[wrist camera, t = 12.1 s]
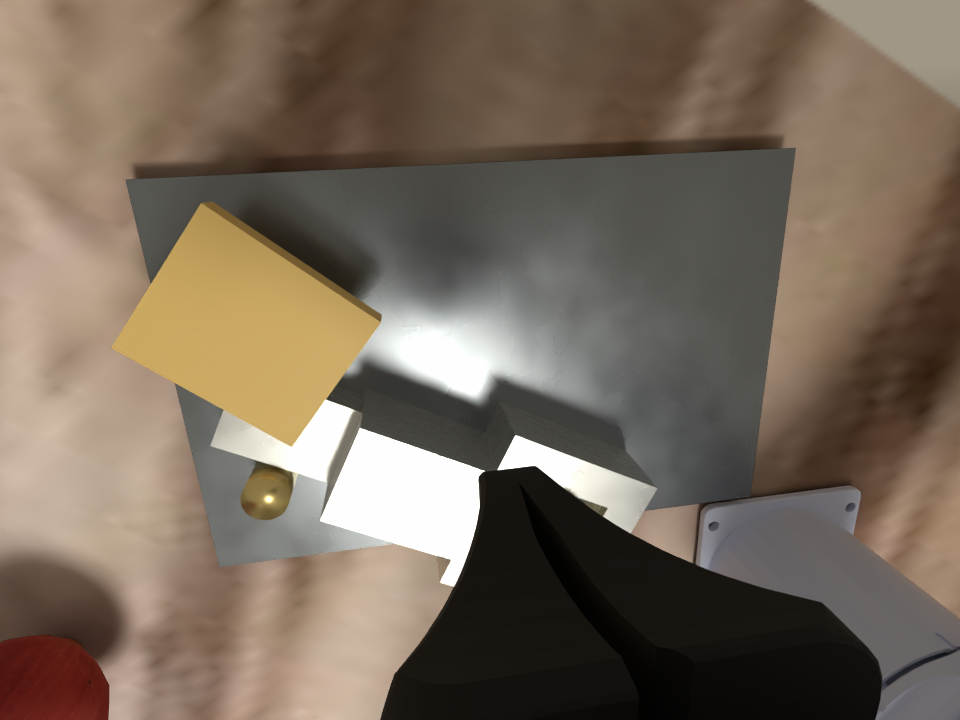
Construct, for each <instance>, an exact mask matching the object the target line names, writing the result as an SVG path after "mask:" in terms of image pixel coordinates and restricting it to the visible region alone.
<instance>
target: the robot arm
mask: <svg viewBox="0 0 960 720" xmlns="http://www.w3.org/2000/svg"><path fill="white" fill-rule="evenodd" d="M478 488H479V506H480V507H479V512H478V518H477V524H476V528H475V531H474V535H473V538H472V542H471V545H470V549H469V552H468V555H467V557H466V560H465V563H464V565H463V568H462V570H461V573H460V575H459V577H458V579H457V582H456V584H455V586H454V588H453V590H452V592H451V594H450V596H449V598H448V600H447V601H446V603H445V605H444V607H443V609H442V610H441V612H440V613H439V615H438V617H437V618H436V620H435V621H434V623H433V624H432V626H431V627H430V629H429V630H428V632H427V634H426V635H425V637H424V638H423V639H422V641H421V642H420V644H419V645H418V646H417V647H416V649H415V650H414V651H413V652H412V654H411V655H410V656H409V657H408V658H407V660H406V661H405V662H404V663H403V665H402V666H401V667H400V668H399V670H398V671H397V672H396V673H395V674H394V677H393V680H392V683H391V686H390V689H389V692H388V696H387V699H386V702H385V705H384V709H383V712H382V716H381V719H380V720H960V619H959V618H958V617H957V616H956V615H954V614H953V613H952V612H950V611H949V610H948V609H947V608H945V607H944V606H943V605H941V604H940V603H939V602H938V601H936V600H935V599H934V598H933V597H931V596H930V595H929V594H927V593H926V592H925V591H924V590H922V589H921V588H920V587H918V586H917V585H916V584H915V583H913V582H912V581H911V580H909V579H908V578H907V577H906V576H904V575H903V574H902V573H901V572H899V571H898V570H897V569H895V568H894V567H893V566H892V565H890V564H889V563H888V562H886V561H885V560H884V559H883V558H881V557H880V556H879V555H877V554H876V553H875V552H874V551H872V550H871V549H870V548H869V547H867V546H866V545H865V544H863V543H862V542H861V541H860V540H858V539H857V538H856V537H854V536H853V533H854V528H855V523H856V518H857V513H858V508H859V504H860V499H861V493H860V491H859V490H858V489H856V488H855V487H853V486H849V485H848V486H840V487H833V488H825V489H818V490H810V491H803V492H795V493H788V494H780V495H773V496H765V497H757V498H750V499H742V500H735V501H727V502H720V503H712V504H709V505H707V506H705V507H704V508H703V510H702V511H701V515H700V526H699V536H698V546H697V556H696V565H695V564H693V563H691V562H688V561H686V560H683V559H681V558H679V557H676V556H674V555H672V554H670V553H667V552H665V551H663V550H661V549H659V548H657V547H655V546H653V545H651V544H649V543H647V542H645V541H644V540H642V539H640V538H638V537H636V536H634V535H632V534H631V533H629V532H627V531H625V530H624V529H622V528H620V527H619V526H617V525H616V524H614V523H612V522H611V521H609V520H608V519H606V518H605V517H603V516H601V515H600V514H598V513H597V512H596V511H594V510H593V509H591V508H590V507H588V506H587V505H586V504H584V503H583V502H581V501H580V500H579V499H577V498H576V497H575V496H573V495H572V494H571V493H569V492H568V491H567V490H566V489H564V488H563V487H562V486H561V485H559V484H558V483H557V482H555V481H554V480H553V479H552V478H551V477H549V476H548V475H547V474H546V473H544V472H543V471H542V470H541V469H539V468H538V467H537V466H527V467H518V468H510V469H501V470H493V471H485V472H482V473H481V474H480V475H479V476H478ZM712 522H714V523H713V524H712V525H710V526H709V524H710V523H712Z"/></svg>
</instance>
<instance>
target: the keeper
mask: <svg viewBox="0 0 960 720" xmlns="http://www.w3.org/2000/svg"><path fill="white" fill-rule="evenodd" d="M381 318H382V315H381V314H380V313H378V312H377V311H375V310H374V309H372V308H371V307H369V306H368V305H366V304H365V303H363V302H362V301H360V300H359V299H357V298H356V297H354V296H353V295H351V294H350V293H348V292H347V291H345V290H344V289H342V288H341V287H340V286H338V285H337V284H335V283H334V282H332V281H331V280H329V279H328V278H326V277H325V276H323V275H322V274H320V273H319V272H317V271H316V270H314V269H313V268H311V267H310V266H308V265H307V264H305V263H304V262H302V261H301V260H299V259H298V258H296V257H295V256H293V255H292V254H290V253H289V252H287V251H286V250H284V249H283V248H281V247H280V246H278V245H277V244H275V243H274V242H272V241H271V240H269V239H268V238H266V237H265V236H263V235H262V234H260V233H259V232H257V231H256V230H254V229H253V228H251V227H250V226H248V225H247V224H245V223H244V222H242V221H241V220H239V219H238V218H236V217H235V216H233V215H232V214H230V213H229V212H227V211H226V210H224V209H223V208H221V207H220V206H218V205H217V204H215V203H214V202H206V203H201V204H200V206H199V207H198V209H197V211H196V212H195V214H194V215H193V217H192V219H191V220H190V222H189V223H188V225H187V227H186V228H185V230H184V232H183V233H182V235H181V236H180V238H179V240H178V241H177V243H176V244H175V246H174V248H173V249H172V251H171V253H170V254H169V256H168V257H167V259H166V261H165V262H164V264H163V265H162V267H161V269H160V270H159V272H158V274H157V275H156V277H155V278H154V280H153V282H152V283H151V285H150V286H149V288H148V290H147V291H146V293H145V295H144V296H143V298H142V299H141V301H140V303H139V304H138V306H137V307H136V309H135V311H134V312H133V314H132V316H131V317H130V319H129V320H128V322H127V324H126V325H125V327H124V328H123V330H122V332H121V333H120V335H119V337H118V338H117V340H116V341H115V343H114V345H113V346H112V349H114V350H116V351H117V352H119V353H121V354H123V355H125V356H126V357H128V358H130V359H132V360H134V361H136V362H137V363H139V364H141V365H143V366H145V367H146V368H148V369H150V370H152V371H154V372H156V373H157V374H159V375H161V376H163V377H165V378H167V379H168V380H170V381H172V382H174V383H176V384H177V385H179V386H181V387H183V388H185V389H187V390H188V391H190V392H192V393H194V394H196V395H197V396H199V397H201V398H203V399H205V400H207V401H208V402H210V403H212V404H214V405H216V406H218V407H219V408H221V409H223V410H225V411H227V412H228V413H230V414H232V415H234V416H236V417H238V418H239V419H241V420H243V421H245V422H247V423H249V424H250V425H252V426H254V427H256V428H258V429H259V430H261V431H263V432H265V433H267V434H269V435H270V436H272V437H274V438H276V439H278V440H279V441H281V442H283V443H285V444H287V445H289V446H290V447H292V446H293V445H294V443H295V442H296V441H297V439H298V438H299V436H300V435H301V434H302V432H303V431H304V429H305V428H306V427H307V425H308V424H309V423H310V421H311V420H312V418H313V417H314V416H315V414H316V413H317V411H318V410H319V409H320V407H321V406H322V404H323V403H324V402H325V400H326V399H327V397H328V396H329V395H330V393H331V392H332V390H333V389H334V388H335V386H336V385H337V383H338V382H339V381H340V379H341V378H342V376H343V375H344V374H345V372H346V371H347V369H348V368H349V367H350V365H351V364H352V363H353V361H354V360H355V358H356V357H357V356H358V354H359V353H360V351H361V350H362V349H363V347H364V346H365V344H366V343H367V342H368V340H369V339H370V337H371V336H372V335H373V333H374V332H375V330H376V329H377V328H378V326H379V325H380V323H381Z"/></svg>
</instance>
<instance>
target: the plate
mask: <svg viewBox="0 0 960 720" xmlns="http://www.w3.org/2000/svg"><path fill="white" fill-rule="evenodd" d="M795 150H796V148H785V149H763V150H742V151H721V152H700V153H678V154H657V155H636V156H615V157H594V158H572V159H551V160H530V161H509V162H487V163H466V164H445V165H424V166H403V167H381V168H360V169H339V170H318V171H296V172H275V173H254V174H233V175H212V176H190V177H169V178H148V179H127V180H126V184H127V188H128V192H129V196H130V201H131V205H132V209H133V213H134V217H135V221H136V225H137V229H138V233H139V237H140V242H141V246H142V250H143V254H144V258H145V262H146V266H147V270H148V274H149V279H150V283H152V282H153V280H154V278H155V277H156V275H157V274H158V272H159V270H160V269H161V267H162V265H163V264H164V262H165V261H166V259H167V257H168V256H169V254H170V253H171V251H172V249H173V248H174V246H175V244H176V243H177V241H178V240H179V238H180V236H181V235H182V233H183V232H184V230H185V228H186V227H187V225H188V223H189V222H190V220H191V219H192V217H193V215H194V214H195V212H196V211H197V209H198V207H199V206H200V204H201V203H206V202H214V203H215V204H217V205H218V206H220V207H221V208H223V209H224V210H226V211H227V212H229V213H230V214H232V215H233V216H235V217H236V218H238V219H239V220H241V221H242V222H244V223H245V224H247V225H248V226H250V227H251V228H253V229H254V230H256V231H257V232H259V233H260V234H262V235H263V236H265V237H266V238H268V239H269V240H271V241H272V242H274V243H275V244H277V245H278V246H280V247H281V248H283V249H284V250H286V251H287V252H289V253H290V254H292V255H293V256H295V257H296V258H298V259H299V260H301V261H302V262H304V263H305V264H307V265H308V266H310V267H311V268H313V269H314V270H316V271H317V272H319V273H320V274H322V275H323V276H325V277H326V278H328V279H329V280H331V281H332V282H334V283H335V284H337V285H338V286H340V287H341V288H342V289H344V290H345V291H347V292H348V293H350V294H351V295H353V296H354V297H356V298H357V299H359V300H360V301H362V302H363V303H365V304H366V305H368V306H369V307H371V308H372V309H374V310H375V311H377V312H378V313H380V314H381V315H382V318H381V323H380V325H379V326H378V328H377V329H376V330H375V332H374V333H373V335H372V336H371V337H370V339H369V340H368V342H367V343H366V344H365V346H364V347H363V349H362V350H361V351H360V353H359V354H358V356H357V357H356V358H355V360H354V361H353V363H352V364H351V365H350V367H349V368H348V369H347V371H346V372H345V374H344V375H343V376H342V378H341V379H340V381H339V382H338V383H337V385H336V386H339V387H342V388H345V389H347V390H350V391H353V392H356V393H358V394H361V395H363V393H364V391H365V388H367V389H369V390H372V391H375V392H377V393H380V394H383V395H386V396H388V397H391V398H394V399H397V400H399V401H402V402H405V403H407V404H410V405H413V406H416V407H418V408H421V409H424V410H427V411H429V412H432V413H435V414H437V415H440V416H443V417H446V418H448V419H451V420H454V421H456V422H459V423H462V424H465V425H467V426H470V427H473V428H476V429H478V430H481V431H484V432H485V430H486V428H487V426H488V424H489V422H490V420H491V418H492V416H493V414H494V412H495V410H496V408H497V406H498V404H499V402H502V403H504V404H507V405H510V406H512V407H515V408H517V409H520V410H523V411H525V412H528V413H530V414H533V415H536V416H538V417H541V418H543V419H546V420H548V421H551V422H554V423H556V424H559V425H561V426H564V427H567V428H569V429H572V430H574V431H577V432H580V433H582V434H585V435H587V436H590V437H592V438H595V439H598V440H600V441H603V442H605V443H608V444H611V445H613V446H616V447H618V448H621V449H624V450H626V451H627V453H628V454H629V455H630V456H631V457H632V458H633V460H634V461H635V462H636V463H637V464H638V466H639V467H640V468H641V469H642V470H643V471H644V473H645V474H646V475H647V476H648V477H649V479H650V480H651V481H652V482H653V483H654V484H655V486H656V487H657V488H658V489H657V490H656V492H655V494H654V495H653V497H652V498H651V500H650V502H649V503H648V505H647V507H646V508H645V510H644V511H646V510H654V509H662V508H669V507H677V506H684V505H692V504H699V503H707V502H714V501H722V500H730V499H737V498H745V497H750V494H751V486H752V479H753V471H754V463H755V456H756V448H757V440H758V433H759V425H760V417H761V410H762V402H763V395H764V387H765V379H766V372H767V364H768V356H769V349H770V341H771V333H772V326H773V318H774V310H775V303H776V295H777V287H778V280H779V272H780V264H781V257H782V249H783V242H784V234H785V226H786V219H787V211H788V203H789V196H790V188H791V180H792V173H793V165H794V157H795ZM175 385H176V390H177V394H178V398H179V402H180V406H181V410H182V414H183V418H184V422H185V426H186V431H187V435H188V439H189V443H190V447H191V451H192V455H193V459H194V463H195V468H196V472H197V476H198V480H199V484H200V488H201V492H202V496H203V500H204V505H205V509H206V513H207V517H208V521H209V525H210V529H211V533H212V537H213V542H214V546H215V550H216V554H217V558H218V562H219V566H220V567H223V566H231V565H238V564H246V563H253V562H261V561H269V560H276V559H284V558H291V557H299V556H306V555H314V554H321V553H329V552H337V551H344V550H352V549H359V548H367V547H374V546H382V545H389V544H396V543H393V542H390V541H386V540H383V539H379V538H376V537H373V536H369V535H366V534H362V533H359V532H356V531H352V530H349V529H345V528H342V527H339V526H335V525H332V524H328V523H325V522H322V521H320V517H321V513H322V508H323V503H324V499H325V494H326V489H327V485H328V483H327V482H324V481H321V480H317V479H314V478H311V477H308V476H305V475H301V474H298V476H297V479H296V482H295V486H294V489H293V492H292V495H291V498H290V501H289V504H288V507H287V509H286V511H285V512H284V513H283V514H282V515H281V516H279V517H277V518H275V519H272V520H259V519H255V518H253V517H251V516H249V515H248V514H247V513H246V512H245V511H244V510H243V508H242V506H241V502H240V497H241V494H242V491H243V489H244V487H245V485H246V483H247V481H248V479H249V477H250V475H251V473H252V470H253V468H254V466H255V464H256V462H257V460H254V459H250V458H247V457H244V456H241V455H238V454H234V453H231V452H228V451H225V450H222V449H219V448H215V447H212V446H211V443H212V440H213V437H214V435H215V432H216V429H217V427H218V424H219V421H220V418H221V416H222V413H223V409H221V408H219V407H218V406H216V405H214V404H212V403H210V402H208V401H207V400H205V399H203V398H201V397H199V396H197V395H196V394H194V393H192V392H190V391H188V390H187V389H185V388H183V387H181V386H179V385H177V384H176V383H175Z"/></svg>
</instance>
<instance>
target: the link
mask: <svg viewBox="0 0 960 720" xmlns="http://www.w3.org/2000/svg"><path fill="white" fill-rule="evenodd" d="M211 446H212V447H215V448H219V449H222V450H225V451H228V452H231V453H234V454H238V455H241V456H244V457H247V458H250V459H254V460H257V461H260V462H263V463H266V464H270V465H273V466H276V467H279V468H282V469H285V470H289V471H292V472H295V473H298V474H301V475H305V476H308V477H311V478H314V479H317V480H321V481H324V482H327V483H328V485H327V489H326V494H325V499H324V503H323V508H322V513H321V517H320V521H322V522H325V523H328V524H332V525H335V526H339V527H342V528H345V529H349V530H352V531H356V532H359V533H362V534H366V535H369V536H373V537H376V538H379V539H383V540H386V541H390V542H393V543H396V544H400V545H403V546H407V547H410V548H414V549H417V550H420V551H424V552H427V553H431V554H434V555H437V563H438V572H439V581H440V583H443V584H447V585H451V586H455V584H456V582H457V579H458V577H459V575H460V573H461V570H462V568H463V565H464V563H465V560H466V557H467V555H468V552H469V549H470V545H471V542H472V538H473V535H474V531H475V528H476V524H477V518H478V512H479V507H480V506H479V488H478V476H479V475H480V474H481V473H482V472H485V471H493V470H501V469H510V468H518V467H527V466H537V467H538V468H539V469H541V470H542V471H543V472H544V473H546V474H547V475H548V476H549V477H551V478H552V479H553V480H554V481H555V482H557V483H558V484H559V485H561V486H562V487H563V488H564V489H566V490H567V491H568V492H569V493H571V494H572V495H573V496H575V497H576V498H577V499H579V500H580V501H581V502H583V503H584V504H586V505H587V506H588V507H590V508H591V509H593V510H594V511H596V512H597V513H598V514H600V515H601V516H603V517H605V518H606V519H608V520H609V521H611V522H612V523H614V524H616V525H617V526H619V527H620V528H622V529H624V530H625V531H627V532H629V533H631V532H632V530H633V528H634V527H635V525H636V523H637V522H638V520H639V518H640V517H641V515H642V513H643V512H644V510H645V508H646V507H647V505H648V503H649V502H650V500H651V498H652V497H653V495H654V494H655V492H656V490H657V489H658V488H657V487H656V486H655V484H654V483H653V482H652V481H651V480H650V479H649V477H648V476H647V475H646V474H645V473H644V471H643V470H642V469H641V468H640V467H639V466H638V464H637V463H636V462H635V461H634V460H633V458H632V457H631V456H630V455H629V454H628V453H627V451H626V450H624V449H621V448H618V447H616V446H613V445H611V444H608V443H605V442H603V441H600V440H598V439H595V438H592V437H590V436H587V435H585V434H582V433H580V432H577V431H574V430H572V429H569V428H567V427H564V426H561V425H559V424H556V423H554V422H551V421H548V420H546V419H543V418H541V417H538V416H536V415H533V414H530V413H528V412H525V411H523V410H520V409H517V408H515V407H512V406H510V405H507V404H504V403H502V402H499V404H498V406H497V408H496V410H495V412H494V414H493V416H492V418H491V420H490V422H489V424H488V426H487V428H486V430H485V432H484V431H481V430H478V429H476V428H473V427H470V426H467V425H465V424H462V423H459V422H456V421H454V420H451V419H448V418H446V417H443V416H440V415H437V414H435V413H432V412H429V411H427V410H424V409H421V408H418V407H416V406H413V405H410V404H407V403H405V402H402V401H399V400H397V399H394V398H391V397H388V396H386V395H383V394H380V393H377V392H375V391H372V390H369V389H367V388H365V391H364V393H363V395H361V394H358V393H356V392H353V391H350V390H347V389H345V388H342V387H339V386H335V388H334V389H333V390H332V392H331V393H330V395H329V396H328V397H327V399H326V400H325V402H324V403H323V404H322V406H321V407H320V409H319V410H318V411H317V413H316V414H315V416H314V417H313V418H312V420H311V421H310V423H309V424H308V425H307V427H306V428H305V429H304V431H303V432H302V434H301V435H300V436H299V438H298V439H297V441H296V442H295V443H294V445H293V446H292V447H290V446H289V445H287V444H285V443H283V442H281V441H279V440H278V439H276V438H274V437H272V436H270V435H269V434H267V433H265V432H263V431H261V430H259V429H258V428H256V427H254V426H252V425H250V424H249V423H247V422H245V421H243V420H241V419H239V418H238V417H236V416H234V415H232V414H230V413H228V412H227V411H225V410H223V413H222V416H221V418H220V421H219V424H218V427H217V429H216V432H215V435H214V437H213V440H212V443H211Z"/></svg>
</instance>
